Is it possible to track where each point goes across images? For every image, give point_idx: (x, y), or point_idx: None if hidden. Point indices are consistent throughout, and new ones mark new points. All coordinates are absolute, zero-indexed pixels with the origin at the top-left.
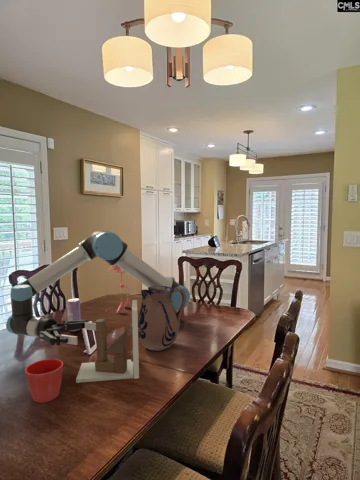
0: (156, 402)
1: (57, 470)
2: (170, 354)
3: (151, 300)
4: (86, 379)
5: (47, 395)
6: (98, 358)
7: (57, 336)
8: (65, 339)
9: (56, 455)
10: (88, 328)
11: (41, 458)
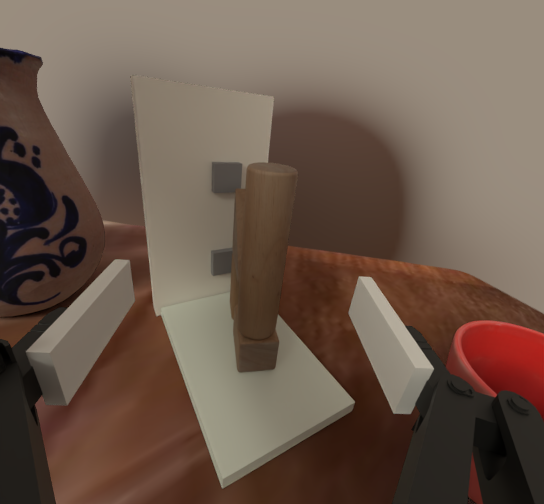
0: (310, 254)
1: (506, 297)
2: (109, 264)
3: (19, 99)
4: (328, 374)
5: None
6: (276, 320)
7: (465, 382)
8: (413, 331)
9: (502, 309)
10: (88, 360)
11: (529, 321)
